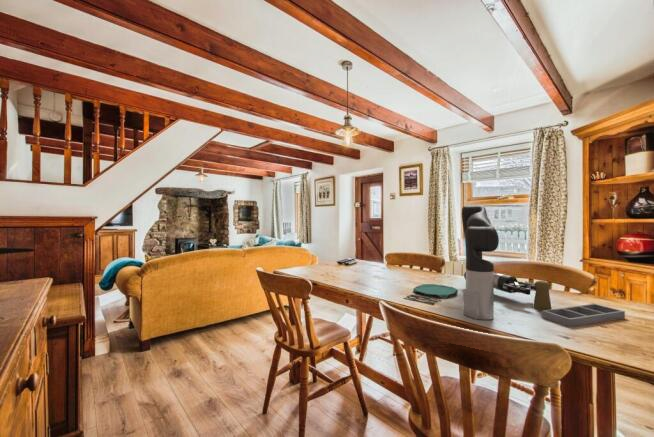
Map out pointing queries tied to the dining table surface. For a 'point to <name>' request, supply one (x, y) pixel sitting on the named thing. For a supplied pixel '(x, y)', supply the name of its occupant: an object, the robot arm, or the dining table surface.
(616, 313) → the frame
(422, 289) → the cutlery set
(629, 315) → the dining table surface
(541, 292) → the cork
